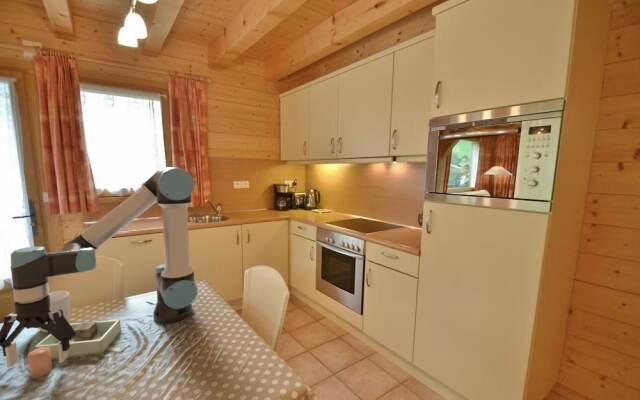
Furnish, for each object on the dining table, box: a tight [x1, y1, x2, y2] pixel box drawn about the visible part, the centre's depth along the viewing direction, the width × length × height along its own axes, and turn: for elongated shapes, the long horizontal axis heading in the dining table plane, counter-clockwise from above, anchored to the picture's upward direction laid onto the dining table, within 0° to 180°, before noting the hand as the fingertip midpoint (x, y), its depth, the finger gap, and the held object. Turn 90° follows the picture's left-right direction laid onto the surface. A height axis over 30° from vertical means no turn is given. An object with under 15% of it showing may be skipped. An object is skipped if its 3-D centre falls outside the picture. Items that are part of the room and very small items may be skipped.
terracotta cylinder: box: [27, 347, 53, 379], centre depth 89 cm, size 5×5×7 cm
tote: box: [33, 319, 122, 360], centre depth 102 cm, size 20×14×5 cm
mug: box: [38, 290, 71, 333], centre depth 110 cm, size 15×11×13 cm
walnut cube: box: [73, 321, 97, 342], centre depth 105 cm, size 5×5×5 cm
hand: (38, 362), depth 88 cm, fingers open, 13 cm apart
